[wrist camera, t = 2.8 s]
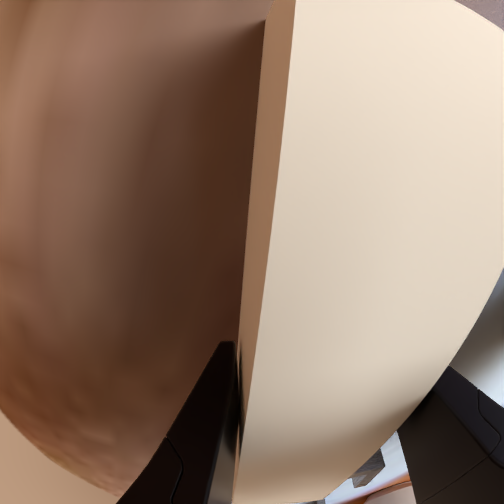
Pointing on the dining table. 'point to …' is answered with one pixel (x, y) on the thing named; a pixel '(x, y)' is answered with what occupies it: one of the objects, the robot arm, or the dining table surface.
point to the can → (393, 495)
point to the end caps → (365, 471)
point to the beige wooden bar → (362, 230)
